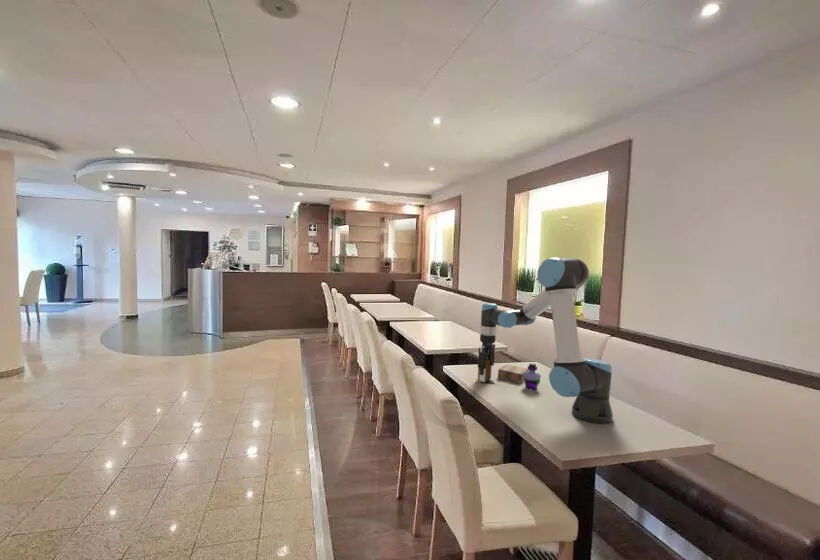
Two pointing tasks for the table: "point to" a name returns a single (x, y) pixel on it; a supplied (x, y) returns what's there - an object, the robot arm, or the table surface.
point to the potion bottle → (531, 377)
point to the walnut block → (512, 373)
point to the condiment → (487, 373)
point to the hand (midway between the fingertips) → (485, 379)
